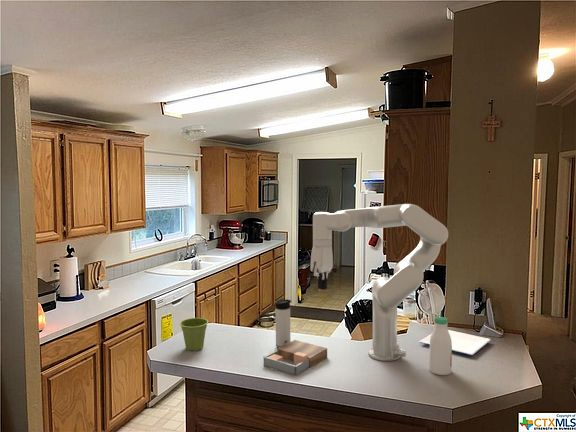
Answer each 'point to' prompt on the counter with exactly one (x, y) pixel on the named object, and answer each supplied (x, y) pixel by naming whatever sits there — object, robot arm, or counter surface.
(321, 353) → the brown piece
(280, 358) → the tile
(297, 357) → the tile
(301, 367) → the box
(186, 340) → the plant pot
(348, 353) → the counter surface
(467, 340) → the plate
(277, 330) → the travel mug
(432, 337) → the milk bottle
